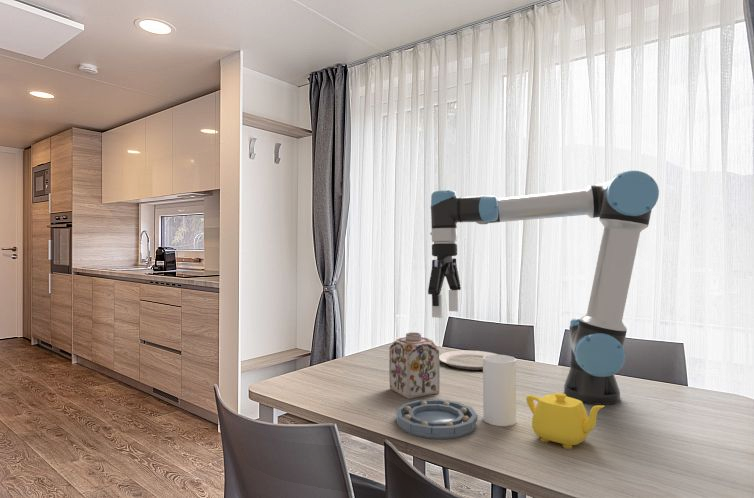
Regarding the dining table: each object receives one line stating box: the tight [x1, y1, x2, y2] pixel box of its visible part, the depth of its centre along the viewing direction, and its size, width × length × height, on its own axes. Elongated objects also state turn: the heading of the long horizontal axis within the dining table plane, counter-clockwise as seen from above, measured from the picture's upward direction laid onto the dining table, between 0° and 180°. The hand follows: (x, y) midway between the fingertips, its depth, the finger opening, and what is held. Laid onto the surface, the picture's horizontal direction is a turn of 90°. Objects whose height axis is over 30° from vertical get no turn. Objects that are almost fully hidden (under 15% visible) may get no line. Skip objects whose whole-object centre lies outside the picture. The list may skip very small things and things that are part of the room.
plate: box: [439, 349, 499, 371], centre depth 178 cm, size 26×26×2 cm
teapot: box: [526, 392, 606, 450], centre depth 107 cm, size 18×11×11 cm, turn 46°
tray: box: [395, 398, 478, 440], centre depth 118 cm, size 20×20×3 cm
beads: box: [404, 401, 469, 426], centre depth 118 cm, size 17×17×2 cm
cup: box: [482, 354, 517, 427], centre depth 119 cm, size 8×8×16 cm
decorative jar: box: [388, 332, 441, 400], centre depth 143 cm, size 12×12×18 cm
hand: (445, 314), depth 138 cm, fingers open, 13 cm apart
